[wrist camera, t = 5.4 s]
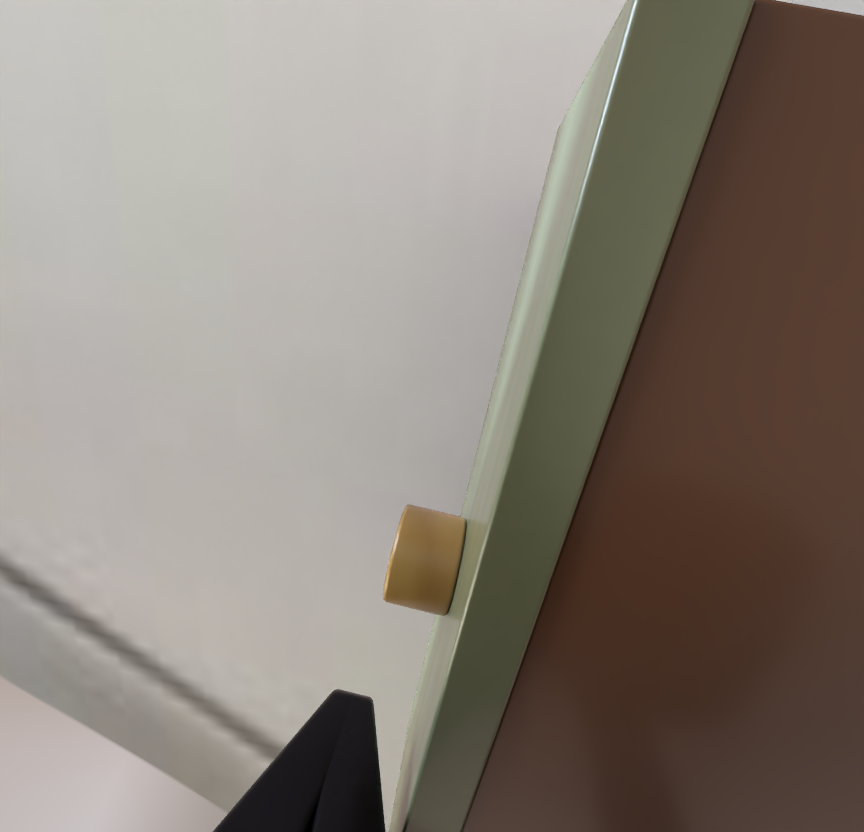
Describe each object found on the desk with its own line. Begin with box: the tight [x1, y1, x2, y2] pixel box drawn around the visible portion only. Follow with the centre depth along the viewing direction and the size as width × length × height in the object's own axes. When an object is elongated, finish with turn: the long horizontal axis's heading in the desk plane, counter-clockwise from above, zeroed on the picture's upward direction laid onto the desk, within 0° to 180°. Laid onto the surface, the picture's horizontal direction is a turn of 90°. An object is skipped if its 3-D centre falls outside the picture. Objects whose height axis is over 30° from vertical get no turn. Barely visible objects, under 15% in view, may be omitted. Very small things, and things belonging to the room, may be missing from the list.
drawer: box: [383, 0, 755, 832], centre depth 7 cm, size 11×13×4 cm
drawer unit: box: [462, 0, 864, 832], centre depth 10 cm, size 10×13×10 cm
